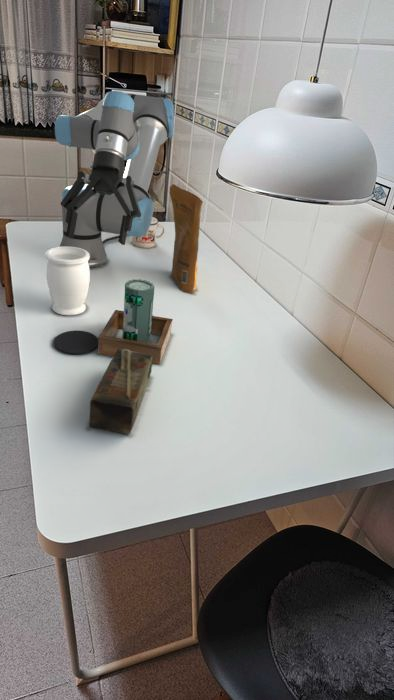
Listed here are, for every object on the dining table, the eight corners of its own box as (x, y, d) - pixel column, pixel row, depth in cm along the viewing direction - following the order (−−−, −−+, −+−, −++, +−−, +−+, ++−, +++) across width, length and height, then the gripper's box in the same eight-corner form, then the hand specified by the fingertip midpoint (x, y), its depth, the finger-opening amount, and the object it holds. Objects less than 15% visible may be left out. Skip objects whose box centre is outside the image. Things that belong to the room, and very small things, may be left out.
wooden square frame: (114, 325, 117) (115, 309, 115) (171, 334, 116) (172, 318, 114) (97, 354, 105) (97, 337, 103) (160, 364, 104) (161, 347, 102)
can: (121, 338, 112) (123, 279, 104) (146, 336, 114) (150, 279, 106) (125, 351, 107) (128, 291, 100) (151, 349, 109) (156, 290, 102)
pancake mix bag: (180, 296, 136) (191, 198, 122) (161, 271, 151) (168, 181, 137) (202, 295, 139) (214, 199, 124) (180, 270, 153) (190, 181, 139)
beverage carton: (152, 377, 100) (154, 350, 96) (131, 437, 83) (133, 407, 80) (115, 371, 100) (116, 344, 96) (87, 430, 83) (87, 400, 80)
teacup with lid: (133, 248, 167) (134, 215, 161) (129, 239, 174) (130, 207, 168) (166, 248, 170) (169, 216, 164) (161, 240, 178) (163, 209, 172)
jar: (79, 321, 117) (79, 264, 109) (40, 313, 118) (37, 256, 110) (96, 304, 126) (96, 250, 118) (59, 297, 127) (57, 243, 119)
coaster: (63, 329, 112) (63, 327, 112) (104, 336, 112) (104, 334, 112) (46, 350, 104) (46, 348, 103) (90, 358, 103) (91, 355, 103)
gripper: (56, 145, 115) (41, 229, 114) (154, 153, 111) (139, 241, 110) (69, 159, 123) (55, 239, 122) (161, 167, 119) (147, 250, 118)
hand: (95, 240), depth 116 cm, fingers open, 13 cm apart
